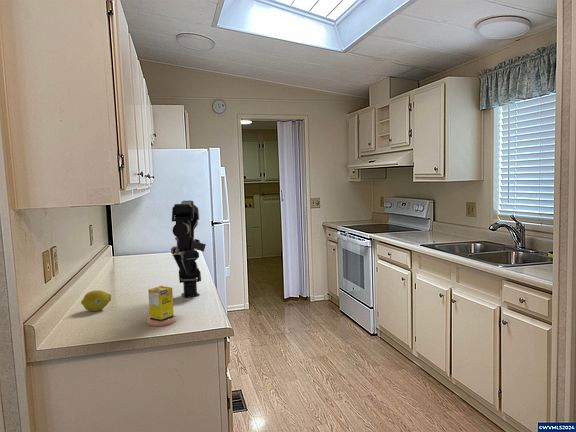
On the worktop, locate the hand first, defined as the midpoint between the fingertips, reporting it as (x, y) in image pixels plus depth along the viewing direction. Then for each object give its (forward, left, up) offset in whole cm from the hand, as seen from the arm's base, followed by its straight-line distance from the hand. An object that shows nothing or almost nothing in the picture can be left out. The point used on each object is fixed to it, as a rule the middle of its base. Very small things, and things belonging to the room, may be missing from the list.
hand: (185, 273), depth 170 cm
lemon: (-13, -32, -13) cm, 37 cm away
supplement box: (+16, -14, -12) cm, 24 cm away
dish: (+16, -14, -13) cm, 25 cm away
